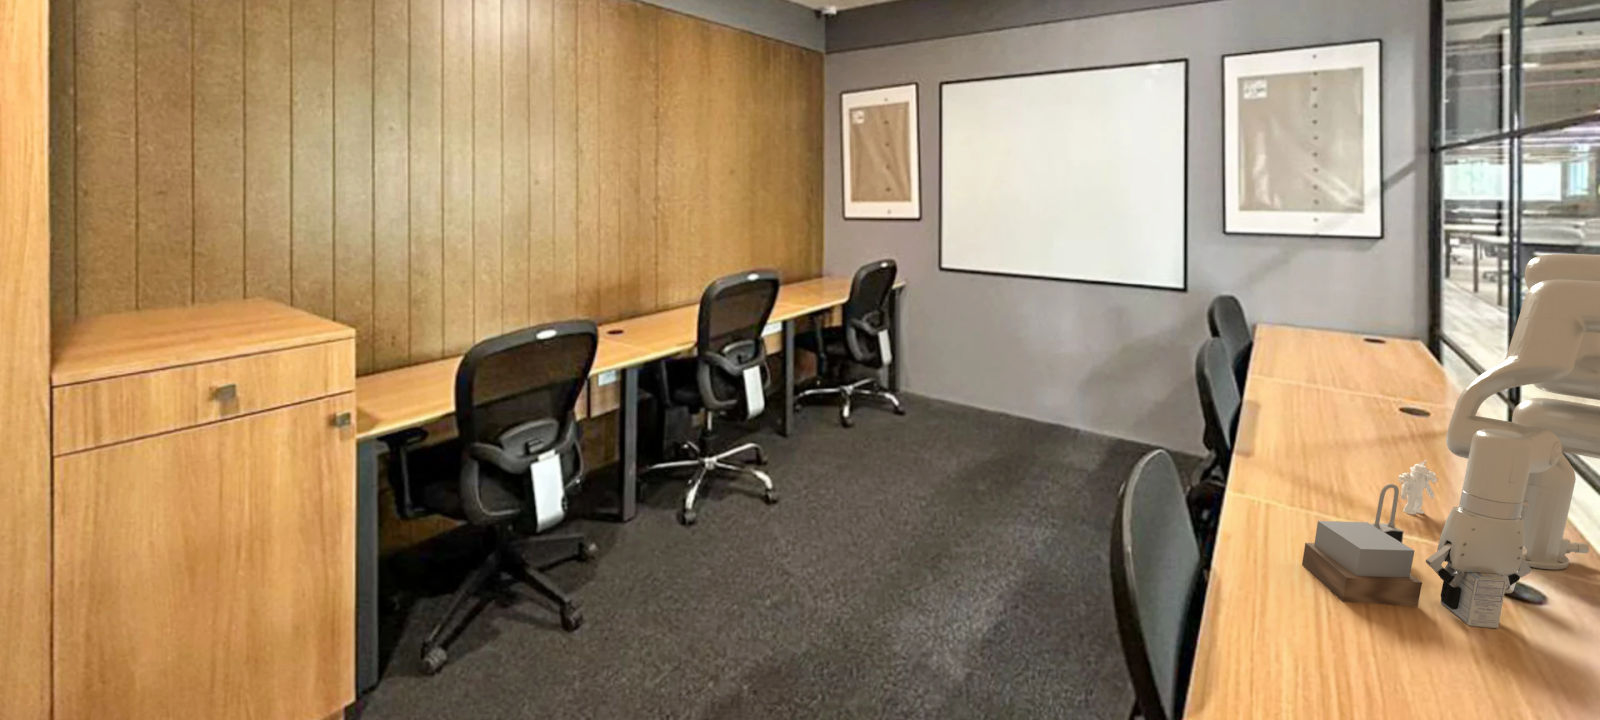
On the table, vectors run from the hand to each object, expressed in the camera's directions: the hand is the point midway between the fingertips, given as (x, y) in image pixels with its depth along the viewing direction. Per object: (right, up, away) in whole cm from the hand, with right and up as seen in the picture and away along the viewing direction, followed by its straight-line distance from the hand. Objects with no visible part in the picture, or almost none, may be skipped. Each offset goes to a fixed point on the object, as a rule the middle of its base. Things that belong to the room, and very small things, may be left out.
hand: (1469, 606), depth 131 cm
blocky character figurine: (+25, +7, +44) cm, 52 cm away
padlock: (+1, +3, +22) cm, 22 cm away
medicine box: (0, -2, 0) cm, 2 cm away
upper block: (-11, +5, +10) cm, 16 cm away
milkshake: (+13, 0, +9) cm, 16 cm away
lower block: (-11, 0, +11) cm, 16 cm away
